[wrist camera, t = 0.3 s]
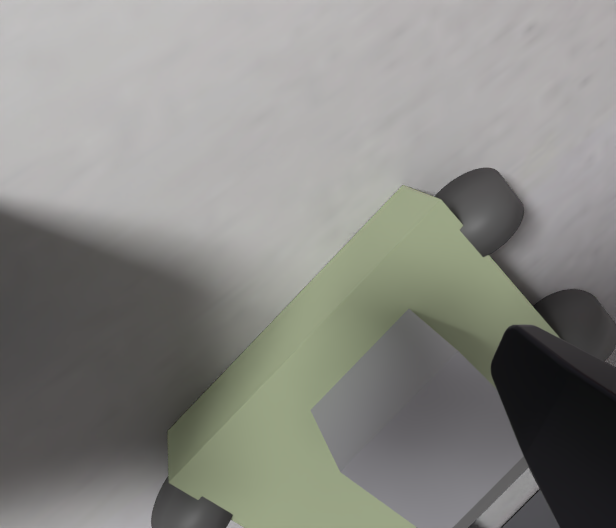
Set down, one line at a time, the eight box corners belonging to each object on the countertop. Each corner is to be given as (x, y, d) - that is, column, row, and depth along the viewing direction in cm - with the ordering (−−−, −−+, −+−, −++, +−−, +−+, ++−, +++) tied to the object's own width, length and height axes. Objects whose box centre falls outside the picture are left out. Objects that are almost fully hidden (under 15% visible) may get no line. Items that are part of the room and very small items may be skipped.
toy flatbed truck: (473, 675, 37) (546, 811, 30) (125, 475, 25) (112, 622, 18) (698, 453, 36) (828, 540, 29) (447, 138, 24) (564, 156, 17)
